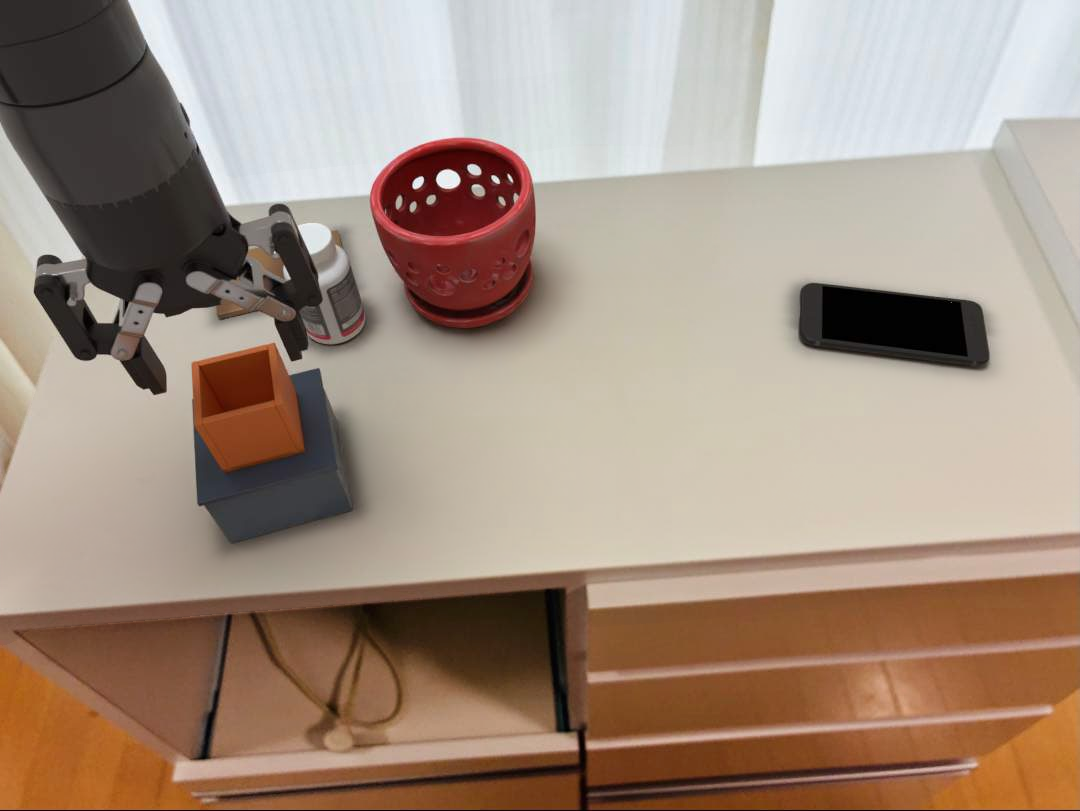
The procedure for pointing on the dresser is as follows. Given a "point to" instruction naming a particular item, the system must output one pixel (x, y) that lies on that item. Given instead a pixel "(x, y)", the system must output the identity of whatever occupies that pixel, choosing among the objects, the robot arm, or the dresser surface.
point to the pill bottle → (331, 289)
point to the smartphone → (893, 324)
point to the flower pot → (458, 230)
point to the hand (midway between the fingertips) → (229, 367)
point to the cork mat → (269, 265)
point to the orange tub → (246, 408)
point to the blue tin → (280, 475)
